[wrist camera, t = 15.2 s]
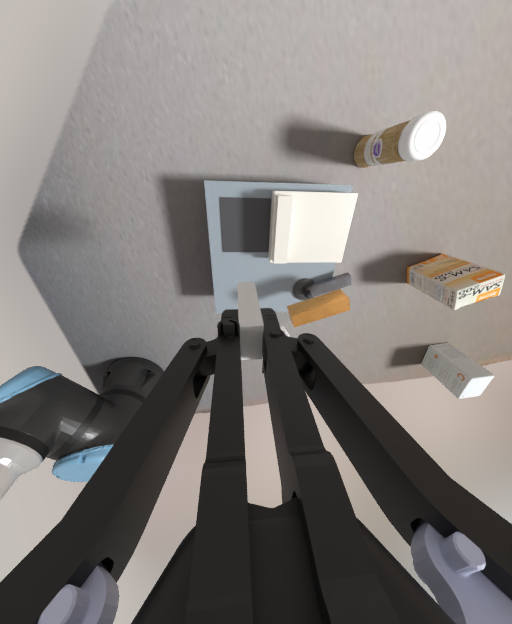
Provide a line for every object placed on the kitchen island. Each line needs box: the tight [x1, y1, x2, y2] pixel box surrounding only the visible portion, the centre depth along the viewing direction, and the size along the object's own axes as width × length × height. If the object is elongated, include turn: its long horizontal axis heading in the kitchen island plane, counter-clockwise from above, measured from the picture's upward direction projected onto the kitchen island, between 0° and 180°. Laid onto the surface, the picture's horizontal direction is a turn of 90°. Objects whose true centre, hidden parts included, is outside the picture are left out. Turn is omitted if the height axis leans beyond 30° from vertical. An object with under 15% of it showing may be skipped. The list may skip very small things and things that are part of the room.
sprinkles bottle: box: [354, 111, 446, 168], centre depth 30 cm, size 5×5×13 cm
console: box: [204, 180, 353, 314], centre depth 39 cm, size 22×22×8 cm
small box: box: [421, 343, 494, 398], centre depth 59 cm, size 8×6×13 cm
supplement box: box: [407, 254, 505, 310], centre depth 43 cm, size 8×5×13 cm, turn 112°
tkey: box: [287, 273, 351, 327], centre depth 35 cm, size 2×12×8 cm, turn 108°
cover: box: [268, 191, 358, 264], centre depth 31 cm, size 12×10×4 cm
